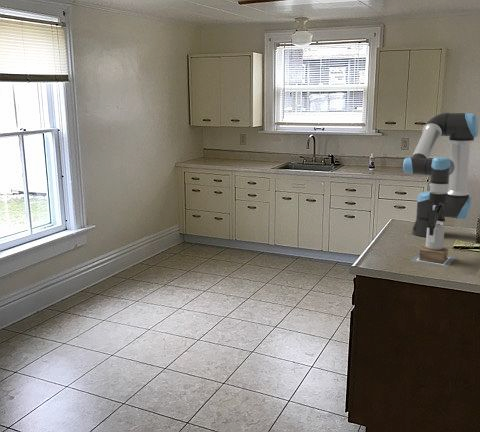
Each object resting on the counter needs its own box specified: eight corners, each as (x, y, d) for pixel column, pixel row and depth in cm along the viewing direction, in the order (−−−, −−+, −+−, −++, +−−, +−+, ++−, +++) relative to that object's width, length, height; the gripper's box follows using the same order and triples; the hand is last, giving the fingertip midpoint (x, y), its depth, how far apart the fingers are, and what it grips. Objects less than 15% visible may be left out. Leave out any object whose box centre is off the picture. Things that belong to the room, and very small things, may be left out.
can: (444, 251, 234) (446, 225, 231) (426, 250, 235) (428, 224, 232) (441, 246, 241) (443, 221, 238) (424, 245, 242) (426, 220, 239)
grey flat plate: (420, 253, 251) (420, 251, 251) (456, 258, 242) (456, 256, 242) (409, 263, 236) (409, 261, 236) (446, 269, 228) (447, 267, 227)
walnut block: (425, 254, 246) (425, 244, 245) (447, 258, 240) (448, 247, 239) (419, 260, 238) (419, 249, 236) (442, 263, 232) (443, 253, 231)
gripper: (436, 187, 244) (433, 231, 249) (422, 196, 224) (418, 243, 229) (453, 188, 240) (450, 233, 245) (440, 197, 220) (436, 246, 225)
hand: (435, 238), depth 237 cm, fingers open, 13 cm apart
